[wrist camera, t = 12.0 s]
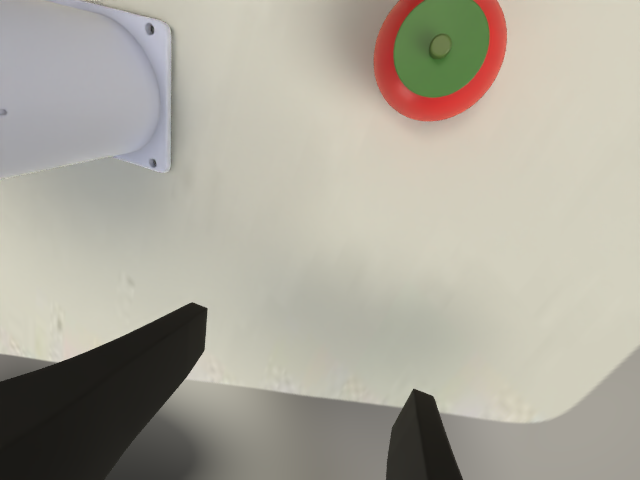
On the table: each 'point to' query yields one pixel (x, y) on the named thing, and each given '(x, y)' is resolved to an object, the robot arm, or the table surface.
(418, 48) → the tomato
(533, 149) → the table surface
